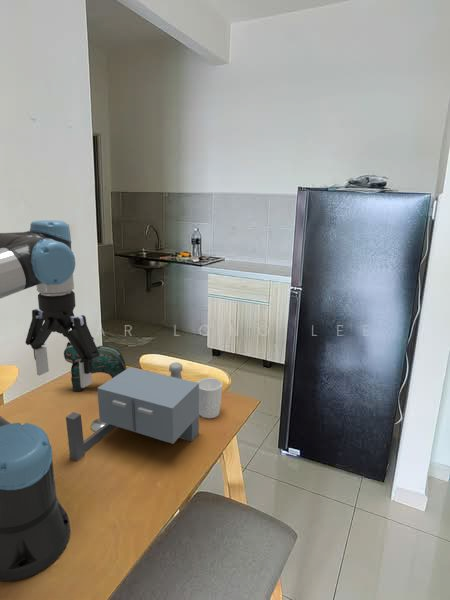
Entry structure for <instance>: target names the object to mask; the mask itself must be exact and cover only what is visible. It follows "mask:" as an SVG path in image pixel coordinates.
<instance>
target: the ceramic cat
mask: <svg viewBox="0 0 450 600" xmlns="http://www.w3.org/2000/svg"><path fill="white" fill-rule="evenodd" d="M92 338H93V340H95V338H94V337H93V336H92ZM65 347H66V348H65V349H64V351H63V357H64V359H65V361H66V362H67V363H70V364H71V367H70V373H71V374H70V375H71V378H70V381H71V385H72V392H77V393H78V392H80V393H81V392H83V390H85V388H86V387H84V388H81V384H80V371H79V361H80V360H82V359H81V358H80V356H79V355H78V353H77V352H76V350H75V349H74V347H73V346H72V344H71V343H70V341H68V342H66V346H65ZM96 347H97V349H98V352H99V356H98V357H96V358H94V359H92V366H93V367H92V368H93V371H92V372H91V375H92V374H96V373H97V374H98V373H101V374H107V375H109V376H110V377H111V379H112V378H114V377H115V376H117V375H118V374H120V373H121V372H123V371H124V370H126V369H127V366H126V361H125V360H124V356H123V354H122V353H121V351H120V349H118V348H117V347H116V346H112V345H106V344H105V345H104V344H103V345H99V346H96ZM85 355H86V353H85Z"/></svg>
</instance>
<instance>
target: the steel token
mask: <svg viewBox="0 0 450 600" xmlns="http://www.w3.org/2000/svg"><path fill="white" fill-rule="evenodd" d="M105 424H106V423H104V422H101V421H100V417H98V418H96V419H94V420H93V421H92V423H91V424H90V429H91V430H92V431H93V432H94V433H95V432H96V431H97V430H99V429H100V428H101V427H102V426H104V425H105Z"/></svg>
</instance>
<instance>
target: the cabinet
mask: <svg viewBox="0 0 450 600" xmlns="http://www.w3.org/2000/svg"><path fill="white" fill-rule="evenodd" d="M96 389H97V402H98V403H97V404H98V413H99V414H98V415H99V417H98V418H100V421H101V422H104V423H108V424H111V425H114V426H116V428H121V429H124V430H127V431H131V432H133V433H136V434H140V435H144V436H147V437H149V438H153V439H157V440H159V441H163V442H165V443H170V444H175V443H176V442H177V440H178V439H183V440H186V441H188V442H189V441H190V442H193V441H194V440H195V439H197V436H199V433H200V423H199V422H200V420H199V419H200V415H199V383H197V382H196V381H192V380H187V379H183V378H182V379H179V378H175V377H171V375H166V374H162V373H157V372H154V371H149V370H145V369H140V368H137V367H133V366H130V367H127V368H126V370H124V371H123V372H121V373H120V374H118V375H117V376H115V377H114V378H112V377H111V379H109V380H107V381H105V382H104V383H103V384H102V385H100V386H98V387H97V388H96Z"/></svg>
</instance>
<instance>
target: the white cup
mask: <svg viewBox="0 0 450 600" xmlns="http://www.w3.org/2000/svg"><path fill="white" fill-rule="evenodd" d="M196 383H199V417H201V418H204V419H214V418H217V417H218V416H219V415H220V413H221V406H222V405H221V404H222V393H223V382H222V381H221V380H220V379H218V378H214V377H205V378H201V379H199V380H198V381H197V382H196Z"/></svg>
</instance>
